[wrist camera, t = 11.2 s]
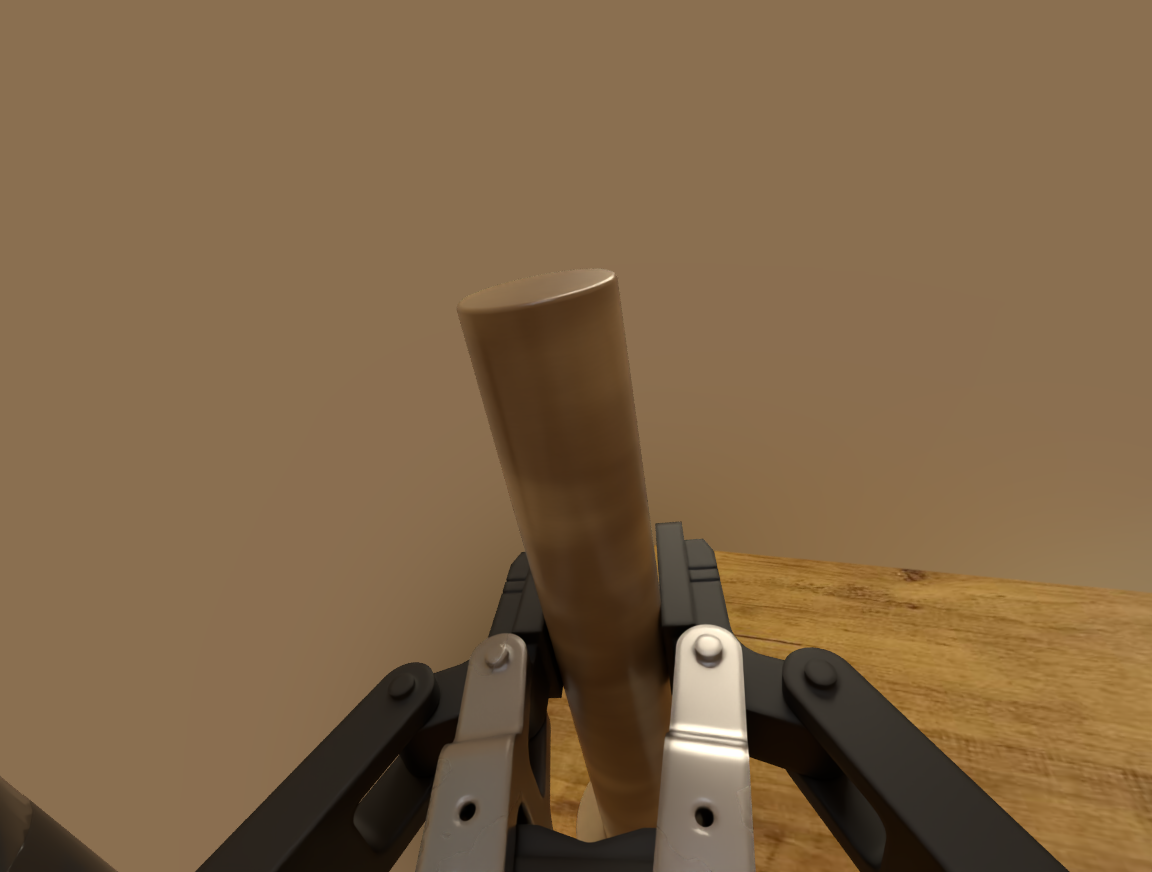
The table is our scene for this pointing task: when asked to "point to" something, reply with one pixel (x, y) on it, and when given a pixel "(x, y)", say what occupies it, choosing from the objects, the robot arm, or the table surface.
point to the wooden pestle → (582, 520)
